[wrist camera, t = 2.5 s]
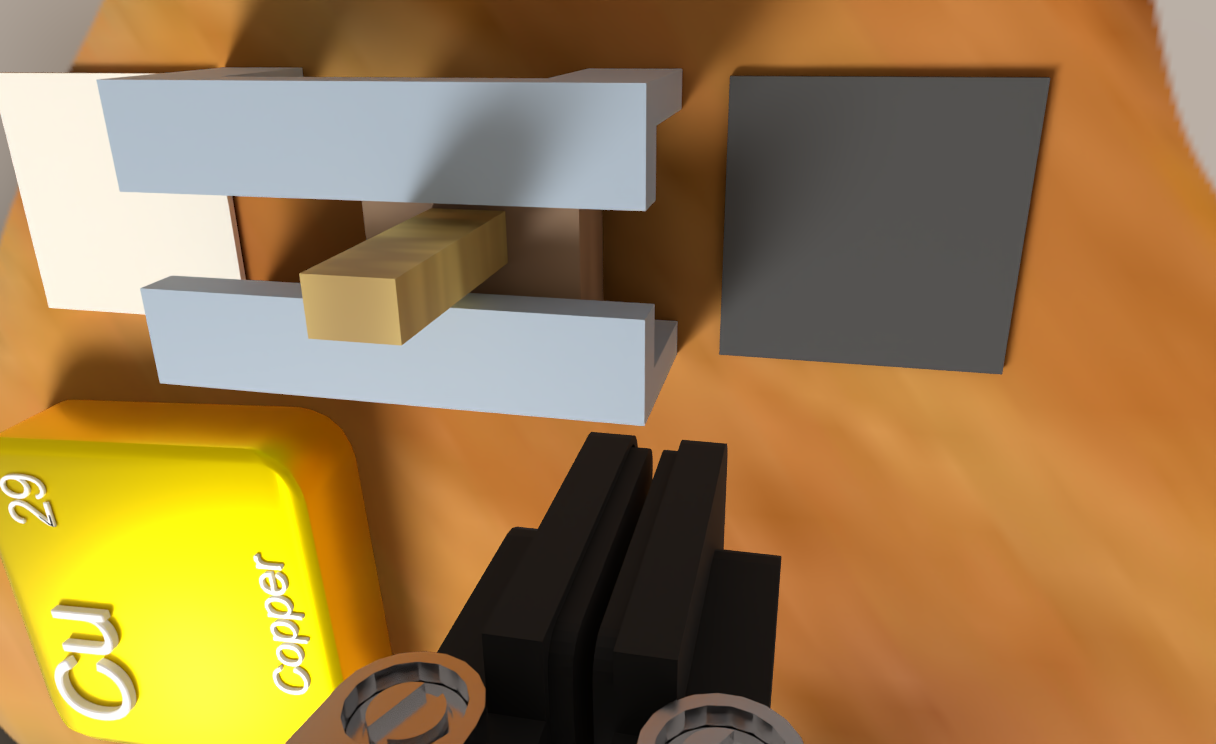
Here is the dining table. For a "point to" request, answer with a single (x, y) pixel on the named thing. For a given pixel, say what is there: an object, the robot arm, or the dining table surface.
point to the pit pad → (877, 217)
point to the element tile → (189, 566)
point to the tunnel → (404, 172)
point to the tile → (102, 202)
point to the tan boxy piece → (448, 265)
